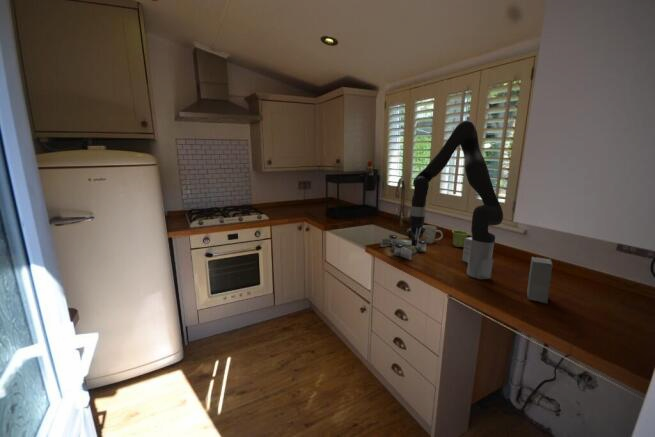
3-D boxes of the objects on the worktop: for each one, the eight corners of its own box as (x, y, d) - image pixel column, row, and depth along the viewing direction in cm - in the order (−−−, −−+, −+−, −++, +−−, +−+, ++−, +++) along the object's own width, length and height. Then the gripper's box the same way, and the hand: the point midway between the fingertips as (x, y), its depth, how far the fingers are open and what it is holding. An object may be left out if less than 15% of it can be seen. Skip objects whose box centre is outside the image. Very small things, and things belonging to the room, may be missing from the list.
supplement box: (471, 258, 160) (474, 236, 157) (483, 263, 153) (487, 240, 151) (461, 260, 157) (464, 237, 154) (473, 265, 151) (476, 241, 148)
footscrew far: (392, 243, 182) (393, 234, 180) (398, 245, 177) (399, 236, 176) (378, 245, 176) (379, 236, 175) (383, 248, 172) (384, 238, 171)
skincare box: (547, 304, 112) (555, 265, 109) (525, 299, 116) (532, 261, 113) (545, 295, 120) (553, 259, 116) (524, 291, 123) (531, 255, 120)
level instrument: (421, 254, 165) (422, 244, 164) (398, 255, 162) (399, 245, 160) (409, 246, 178) (409, 237, 177) (387, 247, 175) (388, 238, 174)
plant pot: (453, 242, 189) (455, 229, 187) (469, 246, 183) (471, 232, 181) (447, 245, 182) (449, 232, 180) (463, 249, 176) (465, 235, 174)
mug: (420, 239, 193) (421, 224, 191) (440, 241, 191) (442, 226, 189) (422, 243, 185) (424, 228, 183) (443, 245, 183) (445, 229, 181)
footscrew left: (391, 254, 162) (392, 244, 161) (398, 252, 165) (398, 242, 163) (406, 260, 153) (407, 249, 152) (413, 259, 156) (414, 248, 155)
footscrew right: (427, 252, 168) (428, 242, 167) (420, 252, 167) (421, 242, 165) (417, 246, 178) (417, 236, 177) (409, 246, 177) (410, 237, 175)
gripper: (420, 212, 162) (417, 242, 166) (403, 214, 155) (400, 245, 159) (431, 214, 156) (427, 246, 160) (414, 217, 149) (410, 249, 153)
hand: (414, 245), depth 159 cm, fingers closed
